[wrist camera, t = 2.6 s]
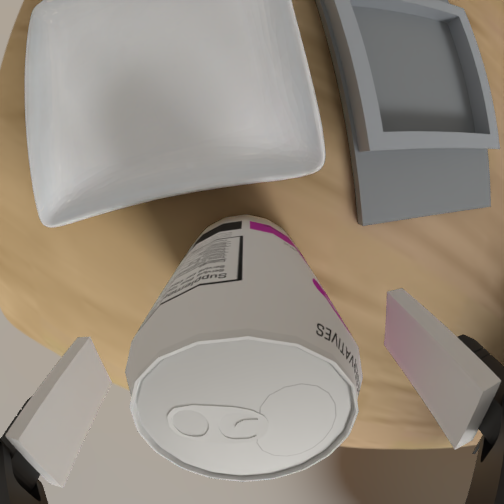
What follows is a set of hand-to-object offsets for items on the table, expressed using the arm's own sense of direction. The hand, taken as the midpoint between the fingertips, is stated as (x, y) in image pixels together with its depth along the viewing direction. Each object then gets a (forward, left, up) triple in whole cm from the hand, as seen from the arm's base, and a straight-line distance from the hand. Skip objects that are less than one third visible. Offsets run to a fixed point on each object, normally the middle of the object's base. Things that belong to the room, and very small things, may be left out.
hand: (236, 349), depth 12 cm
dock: (+14, -16, -11) cm, 24 cm away
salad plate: (+16, +4, -11) cm, 20 cm away
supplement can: (0, 0, -11) cm, 11 cm away
